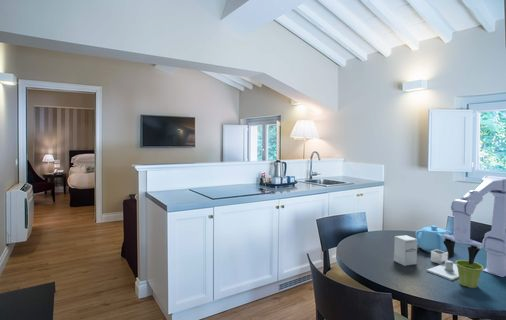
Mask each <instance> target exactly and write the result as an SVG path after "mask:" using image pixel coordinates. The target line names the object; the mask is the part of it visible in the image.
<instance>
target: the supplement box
mask: <svg viewBox="0 0 506 320" xmlns="http://www.w3.org/2000/svg"><path fill="white" fill-rule="evenodd" d="M393 246H394V249H393V261H394V262H395V263H398V264H400V265H402V266H404V267H405V266H411V265H417V260H418V259H417V256H418V251H417V250H418V245H417V239H416V237H413V236H409V235H407V234H406V235H405V234H404V235H395V236H394V245H393Z"/></svg>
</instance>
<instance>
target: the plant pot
mask: <svg viewBox="0 0 506 320" xmlns="http://www.w3.org/2000/svg"><path fill="white" fill-rule="evenodd" d="M455 264H457V267H458V274H459V278H458V282H459V284H460V285H461V286H463V287H467V288H468V289H469V288H470V289H476V288H478V285H479V280H480V278H481V277H480V276H481V273H482V272H483V269H484V266H483V264H480V263H478V262H475V261H474V263H473V264H469V260H466V259H465V260H463V259H462V260H461V259H459V260H456V261H455Z"/></svg>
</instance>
